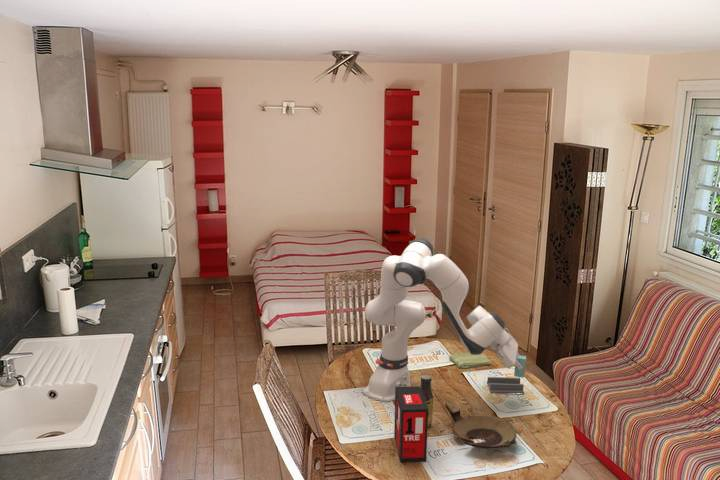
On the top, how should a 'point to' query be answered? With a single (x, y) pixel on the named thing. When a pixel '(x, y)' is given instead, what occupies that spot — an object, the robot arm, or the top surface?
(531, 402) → the top surface
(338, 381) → the top surface
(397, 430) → the cleaning product box
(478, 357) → the washcloth
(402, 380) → the robot arm
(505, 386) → the slotted rack
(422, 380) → the sauce bottle
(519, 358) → the teal ridged block
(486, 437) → the frying pan
